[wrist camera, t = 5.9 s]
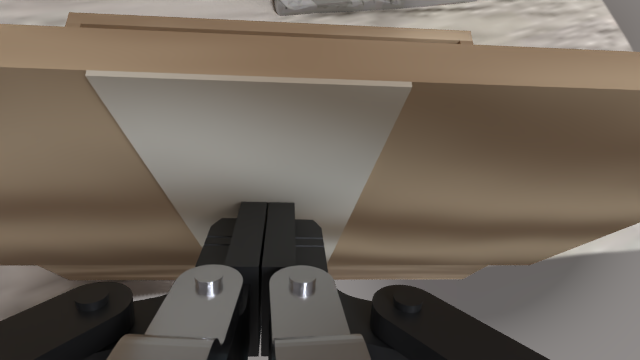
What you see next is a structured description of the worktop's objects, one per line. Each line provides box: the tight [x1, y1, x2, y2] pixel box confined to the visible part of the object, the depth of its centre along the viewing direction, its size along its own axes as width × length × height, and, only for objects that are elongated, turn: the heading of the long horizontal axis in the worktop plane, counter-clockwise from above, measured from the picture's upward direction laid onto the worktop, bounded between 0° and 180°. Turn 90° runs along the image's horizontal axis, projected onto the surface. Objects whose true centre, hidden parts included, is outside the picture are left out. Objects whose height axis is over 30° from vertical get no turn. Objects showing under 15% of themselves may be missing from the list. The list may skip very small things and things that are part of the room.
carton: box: [38, 12, 488, 280], centre depth 27 cm, size 14×24×7 cm, turn 91°
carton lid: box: [0, 24, 640, 265], centre depth 14 cm, size 14×25×1 cm
